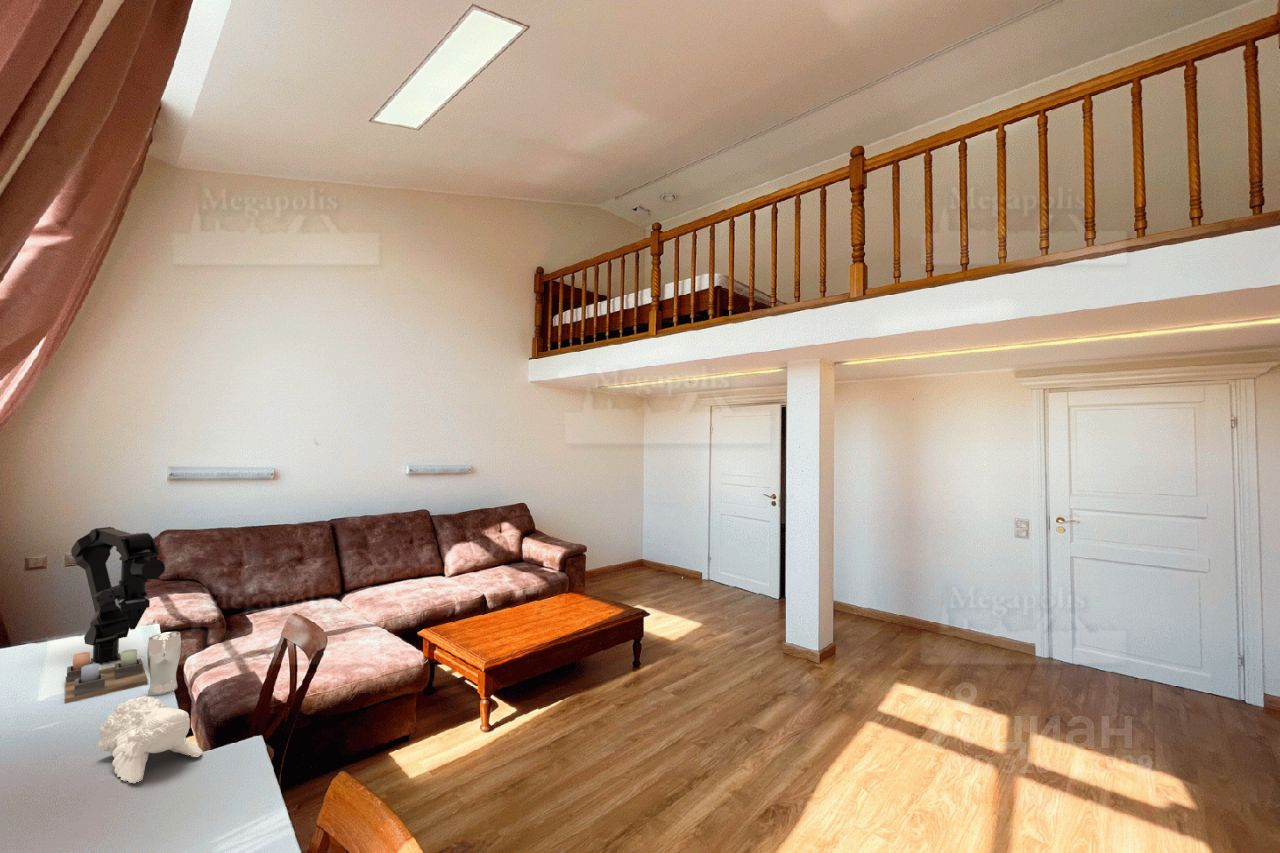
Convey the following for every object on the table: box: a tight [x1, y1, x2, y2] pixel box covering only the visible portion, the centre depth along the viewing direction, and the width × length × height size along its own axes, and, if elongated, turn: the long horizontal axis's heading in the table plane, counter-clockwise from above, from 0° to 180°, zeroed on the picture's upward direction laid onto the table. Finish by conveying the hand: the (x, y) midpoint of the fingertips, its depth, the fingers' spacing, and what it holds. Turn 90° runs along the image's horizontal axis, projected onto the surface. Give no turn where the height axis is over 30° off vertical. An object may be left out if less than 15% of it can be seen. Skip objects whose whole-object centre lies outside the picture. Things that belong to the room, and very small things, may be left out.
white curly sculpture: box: [97, 695, 203, 784], centre depth 117 cm, size 13×12×20 cm
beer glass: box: [146, 631, 182, 697], centre depth 149 cm, size 7×7×15 cm
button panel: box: [64, 658, 149, 704], centre depth 154 cm, size 19×16×4 cm
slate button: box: [81, 663, 100, 683], centre depth 147 cm, size 3×3×4 cm
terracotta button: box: [72, 651, 91, 671], centre depth 155 cm, size 3×3×4 cm
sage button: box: [120, 649, 138, 667], centre depth 157 cm, size 3×3×4 cm
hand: (132, 627), depth 164 cm, fingers open, 4 cm apart
